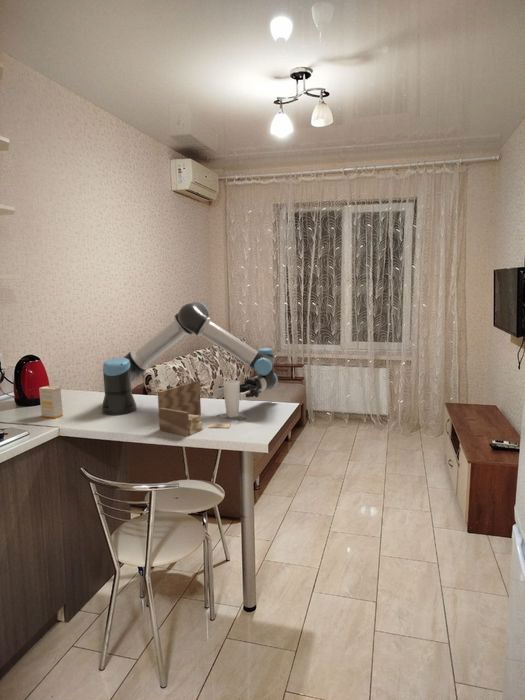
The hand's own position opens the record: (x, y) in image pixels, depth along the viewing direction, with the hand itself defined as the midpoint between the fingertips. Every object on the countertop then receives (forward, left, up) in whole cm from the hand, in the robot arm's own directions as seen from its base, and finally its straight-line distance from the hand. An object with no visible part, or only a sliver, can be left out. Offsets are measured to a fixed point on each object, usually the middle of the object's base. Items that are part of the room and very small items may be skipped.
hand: (226, 395), depth 198 cm
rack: (+8, -14, -10) cm, 20 cm away
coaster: (-3, +2, -10) cm, 11 cm away
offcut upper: (+16, -15, -6) cm, 23 cm away
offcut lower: (+16, -15, -9) cm, 24 cm away
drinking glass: (-3, +2, -10) cm, 11 cm away
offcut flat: (+13, -4, -11) cm, 17 cm away
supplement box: (-21, -76, -11) cm, 79 cm away
